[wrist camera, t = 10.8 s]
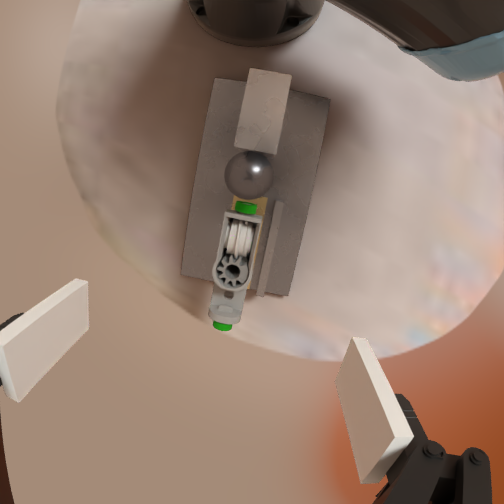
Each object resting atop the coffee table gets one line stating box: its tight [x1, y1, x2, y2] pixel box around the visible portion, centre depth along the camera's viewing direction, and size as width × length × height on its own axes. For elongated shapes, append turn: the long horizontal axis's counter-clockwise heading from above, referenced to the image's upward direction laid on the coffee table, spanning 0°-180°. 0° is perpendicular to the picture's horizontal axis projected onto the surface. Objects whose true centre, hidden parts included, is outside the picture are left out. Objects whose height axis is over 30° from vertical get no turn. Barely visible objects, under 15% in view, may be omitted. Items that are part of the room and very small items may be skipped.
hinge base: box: [181, 68, 330, 297], centre depth 27 cm, size 22×12×13 cm, turn 169°
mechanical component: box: [208, 201, 263, 331], centre depth 28 cm, size 3×10×10 cm, turn 168°
